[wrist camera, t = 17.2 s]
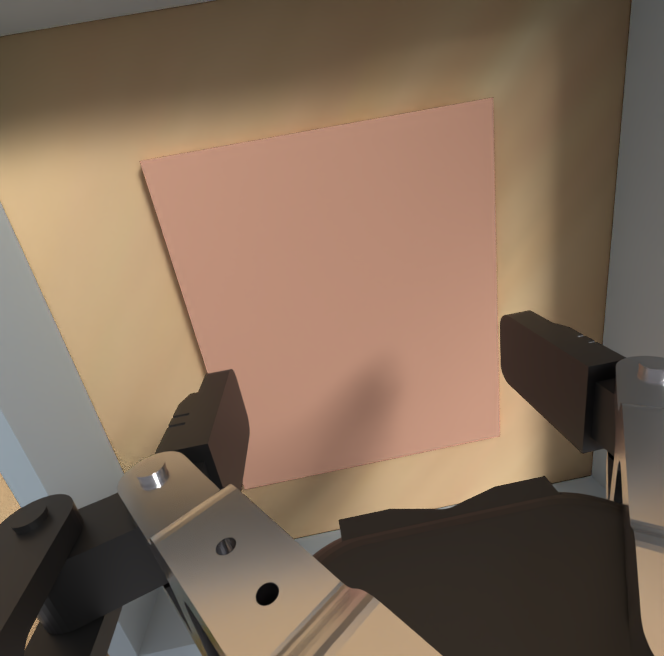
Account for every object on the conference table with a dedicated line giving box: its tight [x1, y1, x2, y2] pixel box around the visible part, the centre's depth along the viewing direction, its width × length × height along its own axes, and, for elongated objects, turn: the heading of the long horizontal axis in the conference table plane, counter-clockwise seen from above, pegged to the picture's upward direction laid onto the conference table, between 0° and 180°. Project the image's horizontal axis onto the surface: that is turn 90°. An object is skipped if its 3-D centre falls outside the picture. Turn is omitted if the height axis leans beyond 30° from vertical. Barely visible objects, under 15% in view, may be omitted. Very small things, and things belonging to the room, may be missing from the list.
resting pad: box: [140, 97, 500, 489], centre depth 16 cm, size 14×12×1 cm
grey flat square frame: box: [0, 0, 664, 656], centre depth 14 cm, size 24×24×4 cm
